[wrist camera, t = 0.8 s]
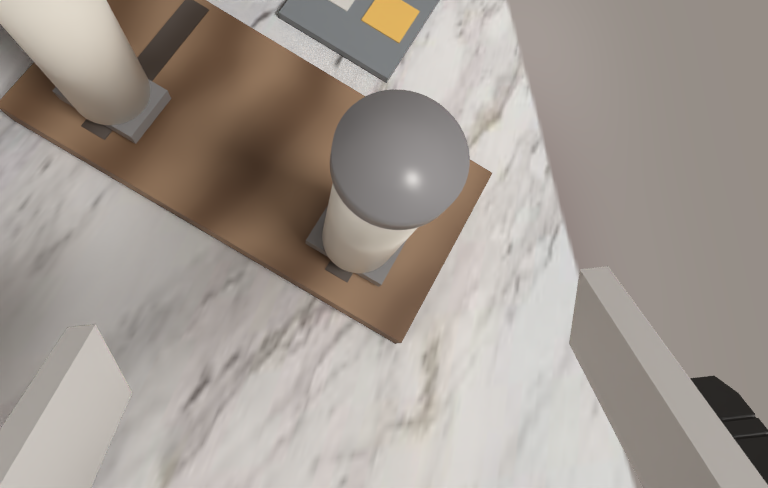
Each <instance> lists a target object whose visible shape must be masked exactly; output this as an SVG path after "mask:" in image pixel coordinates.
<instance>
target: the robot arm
mask: <svg viewBox="0 0 768 488" xmlns="http://www.w3.org/2000/svg"><path fill="white" fill-rule="evenodd" d="M569 344H570V346H571V348H572V350H573V352H574V354H575V356H576V358H577V360H578V362H579V364H580V366H581V367H582V369H583V371H584V373H585V375H586V377H587V379H588V381H589V383H590V385H591V387H592V389H593V391H594V393H595V395H596V397H597V399H598V401H599V403H600V405H601V407H602V408H603V410H604V412H605V414H606V416H607V418H608V420H609V422H610V424H611V426H612V428H613V430H614V432H615V434H616V436H617V438H618V440H619V442H620V444H621V446H622V447H623V449H624V451H625V453H626V455H627V457H628V459H629V461H630V463H631V465H632V467H633V469H634V471H635V473H636V475H637V477H638V479H639V481H640V483H641V485H642V486H643V488H768V429H767V428H766V427H765V426H764V424H763V423H762V422H761V421H760V420H759V418H756V417H755V413H754V412H753V411H752V410H751V408H750V407H749V406H748V405H747V403H746V402H745V401H744V400H743V399H742V397H741V396H740V395H739V394H738V393H737V392H736V391H735V390H733V389H732V388H730V387H729V386H728V385H726V384H725V383H724V382H722V381H721V380H719V379H718V378H717V377H715V376H708V377H700V378H689V376H688V375H687V374H686V372H685V371H684V370H683V368H682V367H681V366H680V364H679V363H678V361H677V360H676V359H675V357H674V356H673V355H672V353H671V352H670V350H669V349H668V348H667V346H666V345H665V344H664V342H663V341H662V339H661V338H660V337H659V335H658V334H657V333H656V331H655V330H654V328H653V327H652V326H651V324H650V323H649V322H648V320H647V319H646V318H645V316H644V315H643V313H642V312H641V311H640V309H639V308H638V307H637V305H636V304H635V303H634V301H633V300H632V298H631V297H630V296H629V294H628V293H627V291H626V290H625V289H624V287H623V286H622V285H621V283H620V282H619V280H618V279H617V278H616V276H615V275H614V274H613V272H612V271H611V270H610V268H609V267H608V266H607V267H598V268H589V269H580V273H579V280H578V287H577V293H576V300H575V307H574V314H573V321H572V328H571V335H570V342H569ZM131 395H132V391H131V389H130V387H129V385H128V384H127V382H126V380H125V378H124V376H123V374H122V372H121V371H120V369H119V367H118V365H117V363H116V361H115V359H114V358H113V356H112V354H111V352H110V350H109V348H108V346H107V344H106V343H105V341H104V339H103V337H102V335H101V333H100V331H99V330H98V328H97V326H96V324H92V325H84V326H75V327H67V328H66V330H65V332H64V333H63V335H62V336H61V338H60V339H59V341H58V342H57V344H56V345H55V347H54V348H53V350H52V351H51V353H50V354H49V356H48V357H47V359H46V360H45V362H44V363H43V365H42V367H41V368H40V370H39V371H38V373H37V374H36V376H35V377H34V379H33V380H32V382H31V383H30V385H29V386H28V388H27V389H26V391H25V392H24V394H23V395H22V397H21V398H20V400H19V402H18V403H17V405H16V406H15V408H14V409H13V411H12V412H11V414H10V415H9V417H8V418H7V420H6V421H5V423H4V424H3V426H2V427H1V429H0V488H91V487H92V485H93V483H94V480H95V478H96V476H97V473H98V471H99V469H100V466H101V464H102V462H103V460H104V457H105V455H106V453H107V450H108V448H109V446H110V443H111V441H112V439H113V437H114V434H115V432H116V430H117V427H118V425H119V423H120V420H121V418H122V416H123V414H124V411H125V409H126V407H127V404H128V402H129V400H130V397H131Z"/></svg>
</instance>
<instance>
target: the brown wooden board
mask: <svg viewBox="0 0 768 488" xmlns="http://www.w3.org/2000/svg"><path fill="white" fill-rule="evenodd" d="M107 2H108V4H109V6H110V8H111V10H112V12H113V13H114V15H115V17H116V19H117V21H118V23H119V25H120V27H121V29H122V30H123V32H124V34H125V36H126V38H127V40H128V42H129V44H130V46H131V47H132V49H133V51H134V53H135V55H136V57H137V59H138V61H139V62H140V64H141V66H142V68H143V70H144V72H145V74H146V76H147V78H148V79H149V80H151V81H152V82H154V83H156V84H157V85H159V86H161V87H162V88H164V89H166V90H168V92H169V95H170V97H171V100H170V101H169V102H168V104H167V105H166V106H165V107H164V109H163V110H162V111H161V113H160V114H159V115H158V116H157V118H156V119H155V120H154V121H153V123H152V124H151V125H150V127H149V128H148V129H147V130H146V132H145V133H144V134H143V136H142V137H141V138H140V139H139V141H138V142H137V143H136V144H135V143H133V142H132V141H130V140H128V139H127V138H125V137H123V136H122V135H120V134H118V133H116V132H115V131H113V130H111V129H110V128H108V127H106V126H105V125H101V124H97V123H94V122H92V121H90V120H88V119H86V118H85V117H83V116H82V115H81V114H80V113H79V112H78V111H77V110H76V109H75V108H74V107H72V106H71V105H69V104H67V103H66V102H64V101H62V100H60V99H59V98H58V97H57V96H56V94H55V93H54V92H53V91H52V90H53V89H54V88H55V87H56V86H55V85H54V84H53V83H52V82H51V81H50V79H49V78H48V77H47V76H46V75H45V74H44V73H43V72H42V70H41V69H40V68H39V67H38V66H37V65H36V64H35V63H33V64H32V65H31V66H30V67H29V68H28V70H27V71H26V72H25V73H24V74H23V75H22V76H21V77H20V78H19V80H18V81H17V82H16V83H15V84H14V85H13V86H12V87H11V89H10V90H9V91H8V92H7V93H6V94H5V95H4V96H3V97H2V99H1V100H0V109H1V110H2V111H3V112H4V113H6V114H7V115H8V116H9V117H10V118H11V119H13V120H14V121H16V122H17V123H19V124H21V125H23V126H24V127H26V128H28V129H29V130H31V131H33V132H35V133H36V134H38V135H40V136H41V137H43V138H45V139H47V140H48V141H50V142H52V143H53V144H55V145H57V146H58V147H60V148H62V149H64V150H65V151H67V152H69V153H70V154H72V155H74V156H76V157H77V158H79V159H81V160H82V161H84V162H86V163H88V164H89V165H91V166H93V167H94V168H96V169H98V170H100V171H101V172H103V173H105V174H106V175H108V176H110V177H111V178H113V179H115V180H117V181H118V182H120V183H122V184H123V185H125V186H127V187H129V188H130V189H132V190H134V191H135V192H137V193H139V194H141V195H142V196H144V197H146V198H147V199H149V200H151V201H152V202H154V203H156V204H158V205H159V206H161V207H163V208H164V209H166V210H168V211H170V212H171V213H173V214H175V215H176V216H178V217H180V218H182V219H183V220H185V221H187V222H188V223H190V224H192V225H194V226H195V227H197V228H199V229H200V230H202V231H204V232H205V233H207V234H209V235H211V236H212V237H214V238H216V239H217V240H219V241H221V242H223V243H224V244H226V245H228V246H229V247H231V248H233V249H235V250H236V251H238V252H240V253H241V254H243V255H245V256H246V257H248V258H250V259H252V260H253V261H255V262H257V263H258V264H260V265H262V266H264V267H265V268H267V269H269V270H270V271H272V272H274V273H276V274H277V275H279V276H281V277H282V278H284V279H286V280H288V281H289V282H291V283H293V284H294V285H296V286H298V287H299V288H301V289H303V290H305V291H306V292H308V293H310V294H311V295H313V296H315V297H317V298H318V299H320V300H322V301H323V302H325V303H327V304H329V305H330V306H332V307H334V308H335V309H337V310H339V311H340V312H342V313H344V314H346V315H347V316H349V317H351V318H352V319H354V320H356V321H358V322H359V323H361V324H363V325H364V326H366V327H368V328H370V329H371V330H373V331H375V332H376V333H378V334H380V335H382V336H383V337H385V338H387V339H388V340H390V341H392V342H393V343H395V344H396V343H401V342H402V341H403V339H404V337H405V335H406V333H407V331H408V329H409V327H410V326H411V324H412V322H413V320H414V318H415V316H416V314H417V313H418V311H419V309H420V307H421V305H422V303H423V301H424V300H425V298H426V296H427V294H428V292H429V290H430V288H431V286H432V285H433V283H434V281H435V279H436V277H437V275H438V273H439V272H440V270H441V268H442V266H443V264H444V262H445V260H446V258H447V257H448V255H449V253H450V251H451V249H452V247H453V245H454V244H455V242H456V240H457V238H458V236H459V234H460V232H461V231H462V229H463V227H464V225H465V223H466V221H467V219H468V217H469V216H470V214H471V212H472V210H473V208H474V206H475V204H476V203H477V201H478V199H479V197H480V195H481V193H482V191H483V189H484V188H485V186H486V184H487V182H488V180H489V178H490V176H491V175H492V173H491V172H490V171H488V170H487V169H485V168H483V167H482V166H480V165H478V164H477V163H475V162H473V161H472V160H470V166H469V172H468V177H467V180H466V183H465V185H464V187H463V189H462V191H461V193H460V194H459V196H458V197H457V198H456V200H455V201H454V202H453V203H452V204H451V205H450V206H449V207H448V208H447V209H446V210H445V211H444V212H443V213H442V214H441V215H440V216H438V217H437V218H436V219H434V220H433V221H431V222H430V223H427V224H425V225H423V226H420V227H418V228H417V229H416V230H415V231H414V232H413V233H412V235H411V236H410V237H409V238H408V239H407V241H406V242H405V244H404V246H403V248H402V250H401V251H400V253H399V255H398V257H397V258H396V260H395V262H394V264H393V265H392V267H391V269H390V271H389V272H388V274H387V276H386V278H385V280H384V281H383V283H382V285H381V286H380V287H378V286H376V285H375V284H373V283H371V282H370V281H368V280H366V279H365V278H363V277H361V276H359V275H358V274H356V273H351V272H348V271H345V270H343V269H341V268H339V267H338V266H336V265H335V264H334V263H333V262H332V261H331V260H330V259H329V257H327V256H325V255H324V254H322V253H320V252H319V251H317V250H315V249H314V248H312V247H310V246H308V245H307V244H306V239H307V238H308V236H309V234H310V233H311V231H312V230H313V228H314V226H315V225H316V223H317V222H318V220H319V218H320V217H321V215H322V214H323V212H324V211H325V209H326V207H327V206H328V203H329V198H330V193H331V189H332V184H333V182H332V178H331V173H330V153H331V147H332V141H333V137H334V133H335V130H336V128H337V125H338V123H339V121H340V120H341V118H342V116H343V115H344V114H345V113H346V111H347V110H348V109H349V108H350V107H351V106H352V105H353V104H355V103H356V102H357V101H359V100H360V99H362V98H364V97H365V96H364V95H362V94H360V93H359V92H357V91H355V90H354V89H352V88H350V87H349V86H347V85H345V84H344V83H342V82H340V81H339V80H337V79H335V78H334V77H332V76H331V75H329V74H327V73H326V72H324V71H322V70H321V69H319V68H317V67H316V66H314V65H312V64H311V63H309V62H307V61H306V60H304V59H302V58H301V57H299V56H297V55H296V54H294V53H292V52H291V51H289V50H287V49H286V48H284V47H282V46H281V45H279V44H277V43H276V42H274V41H272V40H271V39H269V38H267V37H266V36H264V35H262V34H261V33H259V32H257V31H256V30H254V29H253V28H251V27H249V26H248V25H246V24H244V23H243V22H241V21H239V20H238V19H236V18H234V17H233V16H231V15H229V14H228V13H226V12H224V11H223V10H221V9H219V8H218V7H216V6H214V5H213V4H211V3H209V2H208V1H206V0H107Z"/></svg>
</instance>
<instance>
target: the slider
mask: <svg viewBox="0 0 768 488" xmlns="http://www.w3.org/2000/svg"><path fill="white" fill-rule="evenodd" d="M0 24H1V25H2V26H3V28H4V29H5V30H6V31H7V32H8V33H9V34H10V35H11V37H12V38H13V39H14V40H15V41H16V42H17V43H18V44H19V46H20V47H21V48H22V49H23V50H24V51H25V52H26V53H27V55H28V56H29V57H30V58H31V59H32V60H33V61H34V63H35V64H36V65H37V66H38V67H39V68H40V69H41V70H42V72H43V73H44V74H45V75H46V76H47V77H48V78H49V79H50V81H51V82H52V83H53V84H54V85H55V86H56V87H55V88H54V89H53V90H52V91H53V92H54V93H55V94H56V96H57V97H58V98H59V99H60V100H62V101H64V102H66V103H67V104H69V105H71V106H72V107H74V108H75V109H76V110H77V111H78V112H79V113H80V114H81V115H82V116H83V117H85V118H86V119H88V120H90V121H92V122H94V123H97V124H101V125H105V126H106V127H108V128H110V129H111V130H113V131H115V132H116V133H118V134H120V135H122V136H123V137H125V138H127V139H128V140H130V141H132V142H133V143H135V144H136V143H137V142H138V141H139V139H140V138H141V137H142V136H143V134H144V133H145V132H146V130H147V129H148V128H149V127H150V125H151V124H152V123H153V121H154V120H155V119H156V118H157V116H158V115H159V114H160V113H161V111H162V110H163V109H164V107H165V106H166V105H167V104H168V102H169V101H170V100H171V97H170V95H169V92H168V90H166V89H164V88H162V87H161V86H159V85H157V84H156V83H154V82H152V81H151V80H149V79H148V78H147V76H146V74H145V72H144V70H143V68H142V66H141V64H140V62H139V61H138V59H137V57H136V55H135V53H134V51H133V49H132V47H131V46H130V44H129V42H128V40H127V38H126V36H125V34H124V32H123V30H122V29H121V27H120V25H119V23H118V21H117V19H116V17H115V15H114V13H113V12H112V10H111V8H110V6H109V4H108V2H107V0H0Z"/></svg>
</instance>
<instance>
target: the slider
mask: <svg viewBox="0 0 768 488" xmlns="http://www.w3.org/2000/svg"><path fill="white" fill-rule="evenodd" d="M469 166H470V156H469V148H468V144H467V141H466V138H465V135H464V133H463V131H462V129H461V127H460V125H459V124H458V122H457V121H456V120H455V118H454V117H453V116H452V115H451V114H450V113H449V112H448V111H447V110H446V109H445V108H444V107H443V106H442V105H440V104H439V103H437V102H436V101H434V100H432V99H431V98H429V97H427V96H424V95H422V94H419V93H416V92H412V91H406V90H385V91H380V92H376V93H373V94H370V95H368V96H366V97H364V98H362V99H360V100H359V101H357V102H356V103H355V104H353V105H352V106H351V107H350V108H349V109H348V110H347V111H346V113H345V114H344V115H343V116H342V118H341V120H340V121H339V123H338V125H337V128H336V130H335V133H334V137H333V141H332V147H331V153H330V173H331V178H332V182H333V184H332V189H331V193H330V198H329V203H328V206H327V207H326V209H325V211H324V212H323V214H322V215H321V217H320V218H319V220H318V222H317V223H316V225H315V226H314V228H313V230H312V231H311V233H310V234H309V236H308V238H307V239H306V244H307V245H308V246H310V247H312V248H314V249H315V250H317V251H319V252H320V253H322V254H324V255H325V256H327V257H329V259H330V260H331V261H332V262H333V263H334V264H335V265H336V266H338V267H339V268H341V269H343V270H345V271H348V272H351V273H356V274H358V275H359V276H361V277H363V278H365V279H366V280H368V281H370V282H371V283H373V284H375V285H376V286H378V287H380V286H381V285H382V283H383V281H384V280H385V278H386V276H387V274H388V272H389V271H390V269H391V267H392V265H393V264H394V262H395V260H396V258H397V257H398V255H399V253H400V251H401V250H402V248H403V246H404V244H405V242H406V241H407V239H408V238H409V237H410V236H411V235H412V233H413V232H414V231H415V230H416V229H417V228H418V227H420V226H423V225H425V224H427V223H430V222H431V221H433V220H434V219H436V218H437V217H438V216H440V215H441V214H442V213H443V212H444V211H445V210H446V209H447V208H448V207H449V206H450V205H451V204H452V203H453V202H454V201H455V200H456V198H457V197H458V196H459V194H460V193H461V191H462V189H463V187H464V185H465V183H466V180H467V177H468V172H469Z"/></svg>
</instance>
